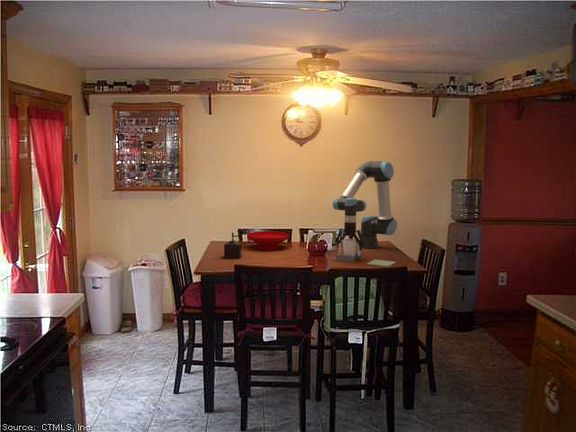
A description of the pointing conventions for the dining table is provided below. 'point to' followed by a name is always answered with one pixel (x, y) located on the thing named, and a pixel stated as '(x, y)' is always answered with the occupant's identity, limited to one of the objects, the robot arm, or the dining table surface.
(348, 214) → the robot arm
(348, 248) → the foam cup
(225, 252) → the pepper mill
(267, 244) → the bowl
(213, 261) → the dining table surface
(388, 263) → the pad
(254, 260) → the dining table surface
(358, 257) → the clamp
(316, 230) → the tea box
